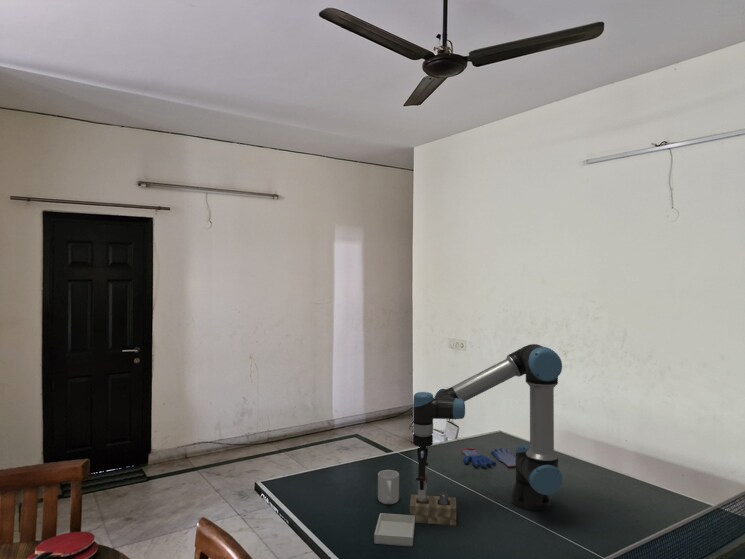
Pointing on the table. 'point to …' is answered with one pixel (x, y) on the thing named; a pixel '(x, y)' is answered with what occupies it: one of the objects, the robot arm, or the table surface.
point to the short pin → (443, 498)
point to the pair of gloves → (484, 461)
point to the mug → (388, 486)
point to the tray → (395, 529)
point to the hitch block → (433, 511)
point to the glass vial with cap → (424, 500)
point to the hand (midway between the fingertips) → (422, 490)
